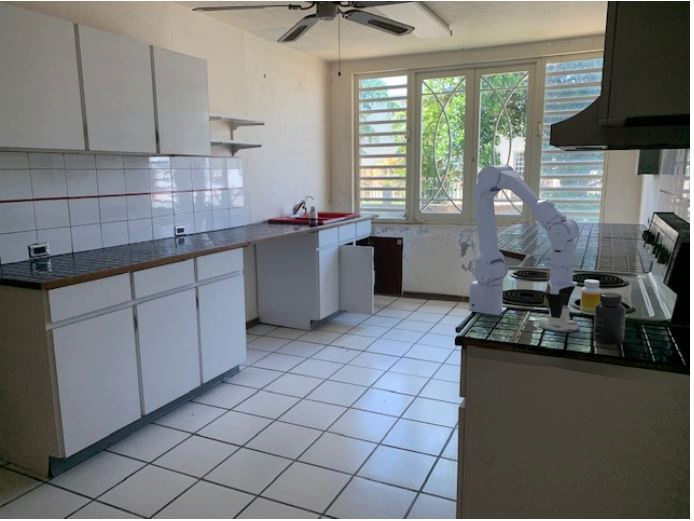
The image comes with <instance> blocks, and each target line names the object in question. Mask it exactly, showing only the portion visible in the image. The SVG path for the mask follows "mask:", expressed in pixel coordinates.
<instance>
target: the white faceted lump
mask: <svg viewBox="0 0 694 521" xmlns="http://www.w3.org/2000/svg"><path fill="white" fill-rule="evenodd" d="M548 308H549V307H548ZM548 310H549V311H548V312H549V313H548V317H547V318H548V324H553V325H559V326H566V325H567V324H568V322H569V320H570V308H569V306H568V307H567V306H563V308H562V313H561V316H560V318H553V317H551V313H550V308H549V309H548Z"/></svg>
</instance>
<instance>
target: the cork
mask: <svg viewBox="0 0 694 521" xmlns="http://www.w3.org/2000/svg"><path fill="white" fill-rule="evenodd" d="M545 278H546V281H547V282H546V283H547V285H546V288H545V291H550V285H549V280H550V270H549V271H547V273H546V275H545ZM543 304H544V305H543V306H545V305H546V306H545V307H547V308H549V303H548V300H547V298H546V296H545V295H544V300H543Z"/></svg>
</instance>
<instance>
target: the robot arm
mask: <svg viewBox="0 0 694 521" xmlns="http://www.w3.org/2000/svg"><path fill="white" fill-rule="evenodd" d="M476 179H477V180H476V181H477V183H476V185H475V188H474V193H473V199H474V208H475V216H476V226H477V228H476V229H477V236H478V237H477V238H478V246H479V247H478V248H479V253H478V255H477V256H476V258H475V267H474V269H473V276H474V278H475V280H473V281H471V284H470V286H469V301H468V302H469V304H468V305H469V306H468V309H467V311H468V312H472V313H473V312H474V313H480V314H487V315H494V316H500V315H501V314H502V313H504V312H505V311H506V310H507V306H506V307H505V306H503V294H504V292H503V290H504V289H503V288H504V287H503V286H504V278H505V277H507V275H508V272H509V269H508V268H509V267H508V265H507V263H506V261H505V255H504V254H503V253H502V252H501V251H500V250H499V240H498V231H497V230H498V229H497V228H498V227H497V222H496V220H497V219H496V211H495V202H494V200H495V197H496V196H497V195H498V194H499V192H501V191H502V190H507V191H511V192H512V193H513V194H514V195H515V196H516V197H518V198H519V199H520V200H521V201H522V202H523V203H524V204H525V205H526V206H528V207H529V208H530V216H532V218H533V219H535V220H536V222H538V224H539V225H540V226H542V228H543V229H544V230H545V231H546V232H547V237H548V239H549V241H550V243H551V245H550V246H551V248H550V263H549V271H550V280H549V285H550V291H546V290H545V291H544V297H545V296H546V298H547V300H548V303H549V307H548V308H550V313H551V317H553V318H560V316H561V313H562V308H563V306H567V307H568V308H569V303H570V300H571V296H572V294H573V292H574V290H575V288H576V286H577V285H578V282H577V281H573V276H574V262H575V260H574V258H575V244H576V243H575V242H576V241H575V240H576V239H577V238H578V236H579V234H580V228H579V225H578V223H577V222H576V221H575V220H573V219H569V218H568V216H566V214H562V213H561V211H559V210H558V208H556V207H555V205H556V204H555V203H554V202H553V201H549V200H547V199H542V200H541V198H540V197H539V196H538V195H537V194H536V193H535V192H534V190H532V188H530V186H529V184H527V183H526V182H525V181H524V179H522V177H521V176H520V174H519V172H518V171H516V170H515V169H514V168H513V167H512V166H511V165H509V164H502V165H500V164H499V165H491V164H489V165H486V166H484V167H482V168H481V169H480V171H479V172H478V173H477V174H476ZM567 218H568V219H567ZM550 313H549V314H550Z"/></svg>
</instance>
